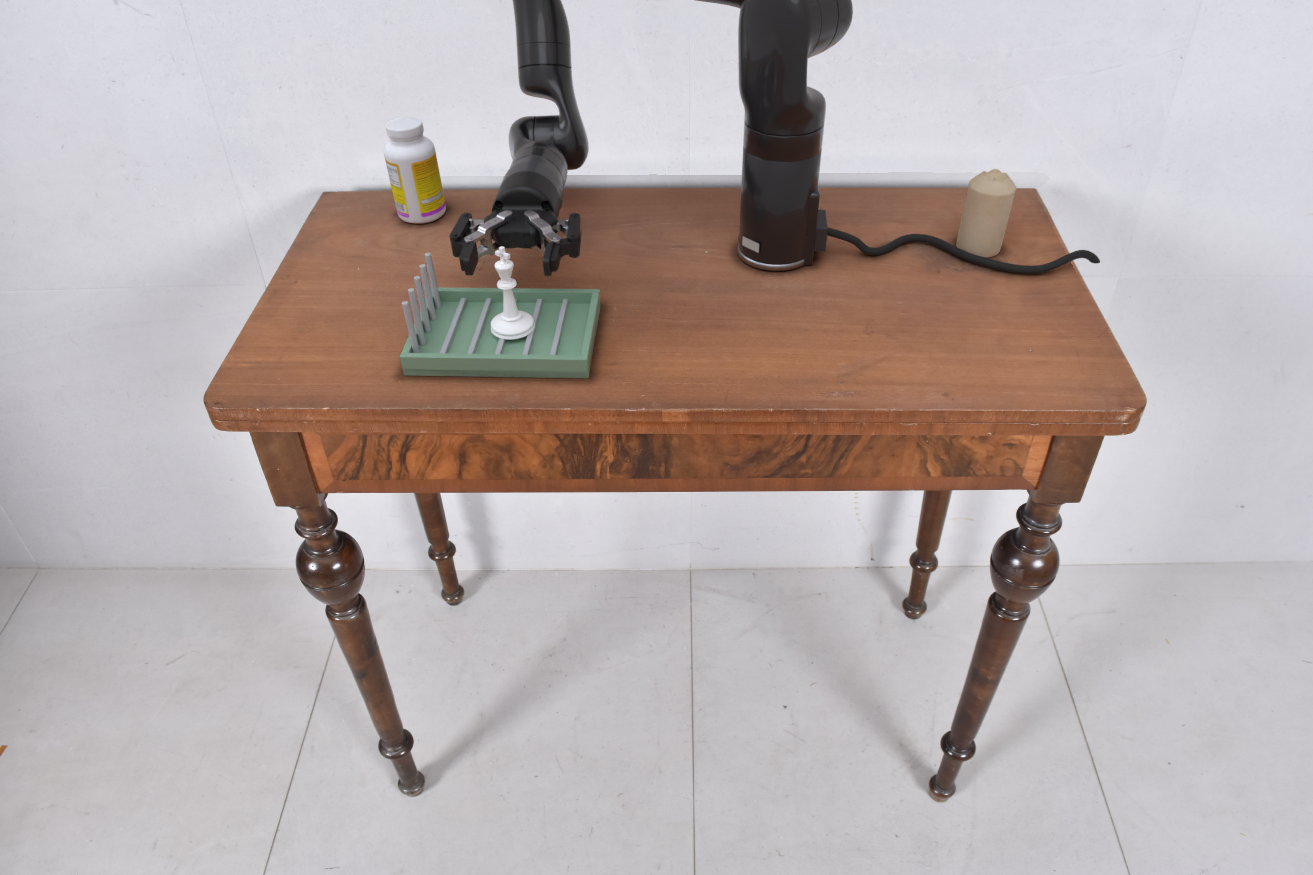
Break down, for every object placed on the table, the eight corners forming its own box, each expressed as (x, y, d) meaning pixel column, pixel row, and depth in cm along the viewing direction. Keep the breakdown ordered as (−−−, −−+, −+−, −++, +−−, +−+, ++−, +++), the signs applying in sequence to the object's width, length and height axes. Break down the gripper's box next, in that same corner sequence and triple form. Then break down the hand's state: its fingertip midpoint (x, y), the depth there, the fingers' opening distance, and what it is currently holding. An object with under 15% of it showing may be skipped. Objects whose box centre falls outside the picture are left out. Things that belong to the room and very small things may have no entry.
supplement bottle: (452, 204, 130) (436, 114, 122) (439, 226, 125) (422, 134, 117) (406, 202, 131) (387, 113, 122) (391, 225, 126) (370, 133, 117)
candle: (952, 254, 117) (968, 179, 111) (959, 234, 121) (974, 161, 115) (997, 261, 116) (1016, 186, 109) (1002, 241, 119) (1021, 167, 113)
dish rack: (601, 307, 109) (597, 246, 104) (588, 378, 99) (583, 315, 93) (433, 305, 110) (421, 245, 105) (403, 375, 100) (388, 312, 94)
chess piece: (516, 344, 101) (504, 264, 94) (481, 331, 103) (468, 251, 96) (543, 323, 104) (534, 243, 97) (509, 310, 106) (498, 232, 100)
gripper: (466, 169, 109) (434, 236, 96) (586, 169, 108) (570, 237, 96) (475, 227, 114) (447, 298, 101) (591, 228, 113) (576, 299, 101)
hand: (507, 268), depth 99 cm, fingers open, 8 cm apart
